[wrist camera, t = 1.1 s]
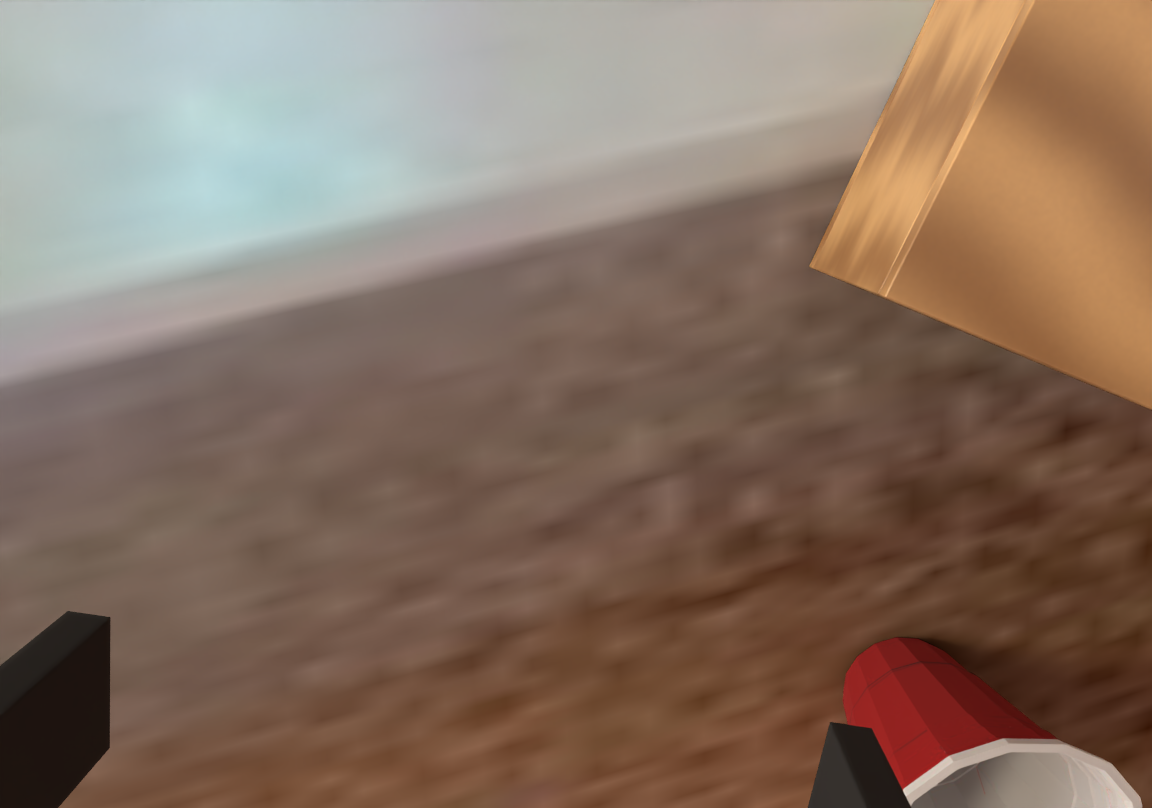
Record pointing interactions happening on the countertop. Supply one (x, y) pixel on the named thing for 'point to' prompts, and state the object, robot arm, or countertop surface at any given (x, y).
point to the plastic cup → (968, 737)
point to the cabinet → (1016, 186)
